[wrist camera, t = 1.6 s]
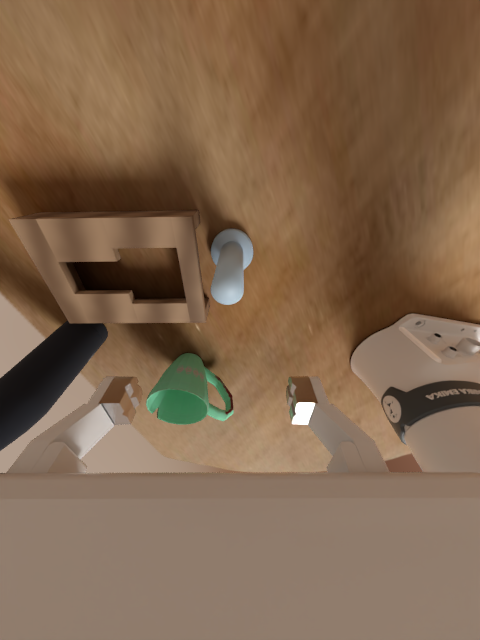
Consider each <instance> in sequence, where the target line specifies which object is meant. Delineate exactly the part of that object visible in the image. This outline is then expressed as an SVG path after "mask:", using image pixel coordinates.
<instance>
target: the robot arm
mask: <svg viewBox="0 0 480 640" xmlns="http://www.w3.org/2000/svg"><path fill="white" fill-rule="evenodd" d="M351 368H352V370H353V372H354V373H355V374H356V375H357V376H358V377H359V378H360V379H361V380H362V381H363V382H364V383H365V384H366V385H367V386H368V388H369V389H370V390H371V391H372V393H373V394H374V395H375V396H376V398H377V399H378V400H379V402H380V403H381V405H382V407H383V409H384V412H385V414H386V416H387V418H388V420H389V422H390V423H391V425H392V427H393V428H394V430H395V432H396V433H397V435H398V436H399V438H400V440H401V441H402V442H403V443H404V444H406V445H407V446H408V447H409V449H410V451H411V452H412V454H413V456H414V457H415V459H416V460H417V462H418V464H419V466H420V467H421V469H422V471H423V472H389V470H388V468H387V466H386V464H385V462H384V460H383V458H382V456H381V454H380V452H379V450H378V448H377V446H376V444H375V442H374V440H373V439H371V438H370V437H369V436H368V435H367V434H366V433H365V432H364V431H362V430H361V429H360V428H359V427H358V426H357V425H356V424H355V423H353V422H352V421H351V420H350V419H349V418H348V417H347V416H346V415H344V414H343V413H342V412H341V411H340V410H339V409H338V408H337V407H335V406H334V405H333V404H329V401H328V399H327V396H326V394H325V391H324V389H323V386H322V384H321V381H320V378H319V377H308V376H296V377H289V379H288V383H289V385H288V386H287V389H286V397H287V404H288V405H289V406H290V411H289V413H290V418H291V423H292V424H308V426H309V427H310V428H311V430H312V431H313V432H314V433H315V435H316V436H317V437H318V438H319V439H320V441H321V442H322V443H323V444H324V446H325V447H326V448H327V449H328V451H329V452H330V453H331V454H332V456H333V457H332V459H331V461H330V462H329V464H328V466H327V471H328V472H316V473H85V471H86V469H87V466H86V465H85V464H84V463H83V462H82V461H81V460H80V459H81V458H82V457H83V456H84V455H85V454H86V453H87V452H88V451H89V450H90V449H91V448H92V447H93V446H94V445H95V444H96V443H97V442H98V441H99V440H100V439H101V438H102V437H103V436H104V435H105V434H106V433H107V432H108V431H109V430H110V429H111V428H112V427H113V426H114V425H117V424H131V423H132V420H133V418H134V416H135V413H136V410H135V408H136V407H137V406H138V405H139V404H140V401H141V399H142V388H141V386H139V385H138V384H137V383H138V379H137V377H117V376H106V377H105V378H104V379H103V380H102V382H101V383H100V385H99V386H98V388H97V389H96V391H95V392H94V394H93V395H92V397H91V399H90V400H89V402H88V403H87V404H83V405H82V406H81V407H79V408H78V409H76V410H75V411H73V412H72V413H70V414H69V415H68V416H66V417H65V418H63V419H62V420H60V421H59V422H57V423H56V424H55V425H53V426H52V427H50V428H49V429H47V430H46V431H45V432H43V433H42V434H40V435H39V436H37V437H36V438H34V439H33V440H32V441H31V442H30V443H29V444H28V445H27V447H26V448H25V449H24V451H23V452H22V453H21V455H20V456H19V457H18V459H17V460H16V461H15V462H14V464H13V465H12V466H11V467H10V469H9V470H8V471H7V473H0V640H480V325H479V324H473V323H467V322H461V321H456V320H450V319H444V318H438V317H432V316H426V315H420V314H413V313H412V314H408V315H406V316H404V317H403V318H401V319H400V320H399V321H397V322H396V323H395V324H394V325H392V326H390V327H388V328H386V329H383V330H381V331H379V332H377V333H375V334H373V335H371V336H370V337H368V338H367V339H366V340H364V341H363V342H362V343H361V344H360V345H359V346H358V347H357V348H356V350H355V351H354V353H353V355H352V358H351Z"/></svg>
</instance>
